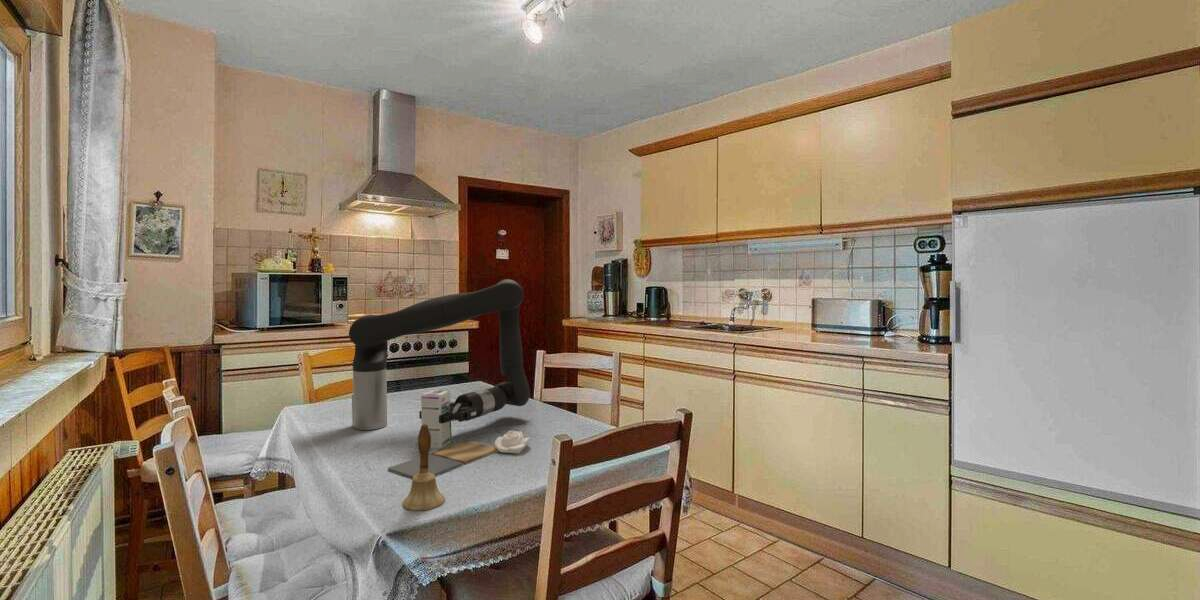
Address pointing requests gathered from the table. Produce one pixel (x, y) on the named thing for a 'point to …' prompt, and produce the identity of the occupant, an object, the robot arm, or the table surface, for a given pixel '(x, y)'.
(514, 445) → the rose
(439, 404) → the syrup box
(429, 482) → the hand bell
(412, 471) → the dark slate pad
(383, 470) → the table surface
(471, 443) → the honey oak pad
